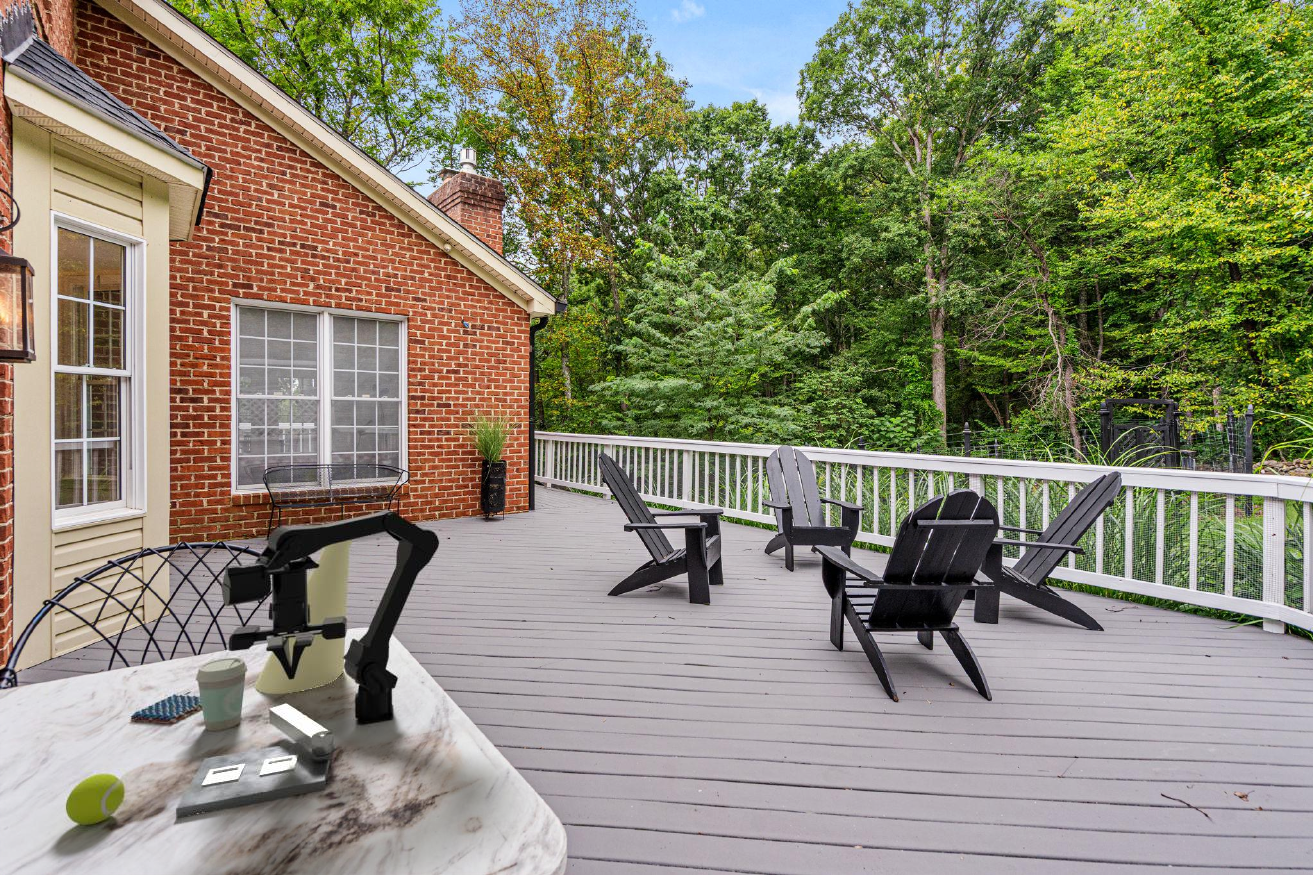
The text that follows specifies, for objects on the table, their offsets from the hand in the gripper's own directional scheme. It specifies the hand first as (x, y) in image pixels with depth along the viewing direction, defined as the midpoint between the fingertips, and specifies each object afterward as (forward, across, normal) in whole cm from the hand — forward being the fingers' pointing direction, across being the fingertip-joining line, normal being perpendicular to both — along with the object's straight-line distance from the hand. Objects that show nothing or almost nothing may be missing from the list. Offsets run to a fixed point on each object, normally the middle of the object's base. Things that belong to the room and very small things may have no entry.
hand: (291, 678), depth 122 cm
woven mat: (+13, +25, -25) cm, 38 cm away
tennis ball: (+12, +24, +16) cm, 31 cm away
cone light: (+12, +1, -33) cm, 35 cm away
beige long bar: (+9, -2, +4) cm, 10 cm away
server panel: (+12, +3, +12) cm, 17 cm away
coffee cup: (+12, +14, -14) cm, 23 cm away
